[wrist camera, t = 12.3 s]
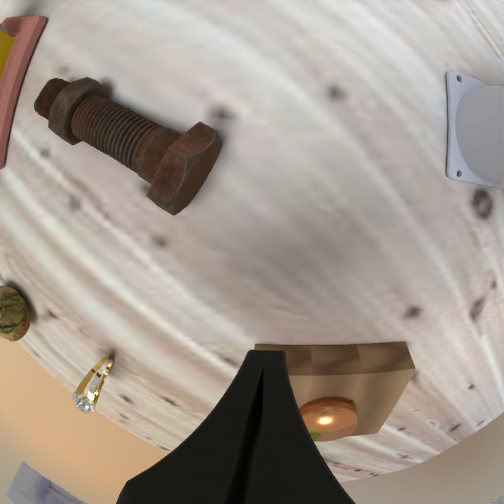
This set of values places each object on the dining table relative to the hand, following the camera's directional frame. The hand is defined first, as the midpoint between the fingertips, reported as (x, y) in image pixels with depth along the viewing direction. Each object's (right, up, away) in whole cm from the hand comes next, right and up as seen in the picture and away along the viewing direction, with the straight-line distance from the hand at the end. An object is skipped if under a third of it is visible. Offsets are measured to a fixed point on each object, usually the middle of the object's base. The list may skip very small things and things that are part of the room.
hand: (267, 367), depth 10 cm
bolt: (-10, +14, +7) cm, 18 cm away
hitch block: (+7, -9, +15) cm, 19 cm away
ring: (-18, -9, +18) cm, 27 cm away
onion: (-33, -2, +17) cm, 38 cm away
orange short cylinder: (+7, -9, +15) cm, 19 cm away
